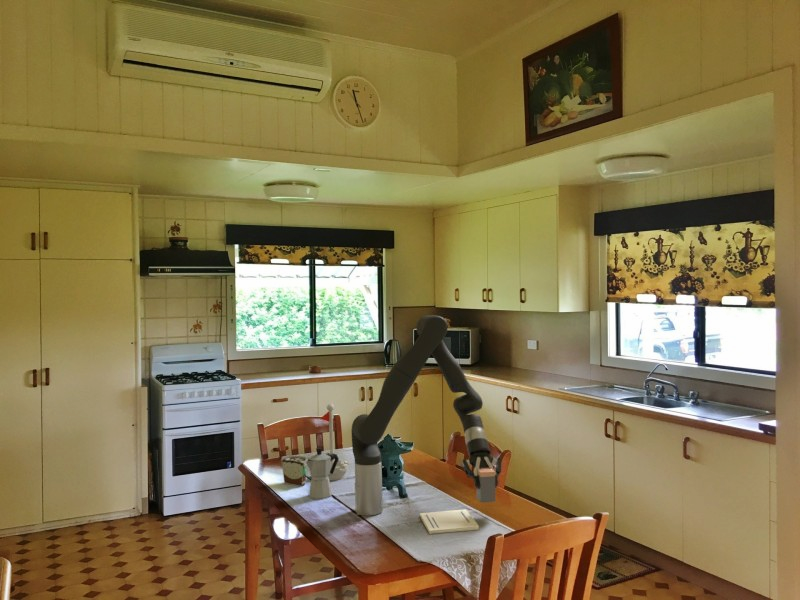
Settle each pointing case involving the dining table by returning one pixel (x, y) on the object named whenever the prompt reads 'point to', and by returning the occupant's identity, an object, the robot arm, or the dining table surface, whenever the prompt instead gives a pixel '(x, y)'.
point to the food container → (294, 470)
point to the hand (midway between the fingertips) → (487, 487)
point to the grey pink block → (486, 485)
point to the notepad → (448, 521)
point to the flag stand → (340, 467)
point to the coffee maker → (321, 474)
